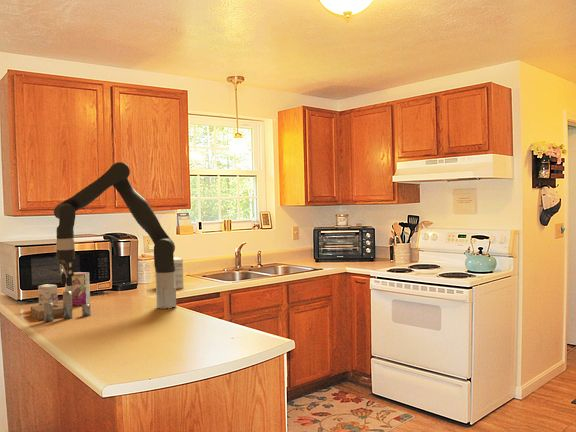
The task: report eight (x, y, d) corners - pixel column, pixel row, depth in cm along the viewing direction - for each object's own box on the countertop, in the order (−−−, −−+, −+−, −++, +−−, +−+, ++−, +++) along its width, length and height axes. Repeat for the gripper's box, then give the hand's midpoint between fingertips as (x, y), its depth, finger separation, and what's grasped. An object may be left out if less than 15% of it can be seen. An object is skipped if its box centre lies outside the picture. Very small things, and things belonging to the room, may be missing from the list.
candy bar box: (65, 305, 258) (63, 273, 258) (70, 303, 263) (69, 272, 262) (86, 305, 257) (84, 273, 256) (90, 303, 262) (89, 271, 261)
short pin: (91, 315, 232) (91, 304, 232) (83, 316, 230) (83, 305, 230) (89, 314, 235) (89, 303, 235) (81, 315, 233) (80, 304, 233)
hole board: (72, 315, 233) (71, 306, 233) (38, 320, 225) (38, 311, 224) (62, 310, 246) (62, 302, 246) (30, 315, 237) (30, 306, 237)
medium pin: (54, 321, 222) (53, 303, 222) (45, 322, 220) (44, 304, 220) (52, 320, 225) (51, 302, 225) (43, 321, 223) (42, 303, 223)
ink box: (38, 309, 251) (37, 285, 251) (47, 307, 255) (46, 283, 255) (49, 310, 247) (48, 286, 247) (58, 308, 251) (57, 284, 251)
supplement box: (157, 287, 311) (156, 258, 310) (179, 285, 316) (178, 257, 316) (161, 290, 299) (160, 260, 298) (184, 288, 304) (183, 258, 304)
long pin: (73, 318, 227) (72, 291, 227) (64, 319, 225) (63, 292, 225) (71, 317, 230) (70, 290, 230) (62, 318, 228) (61, 291, 227)
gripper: (79, 248, 224) (80, 285, 224) (70, 247, 235) (71, 282, 235) (60, 250, 219) (61, 287, 219) (52, 248, 230) (53, 284, 231)
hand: (66, 284), depth 227 cm, fingers open, 8 cm apart
